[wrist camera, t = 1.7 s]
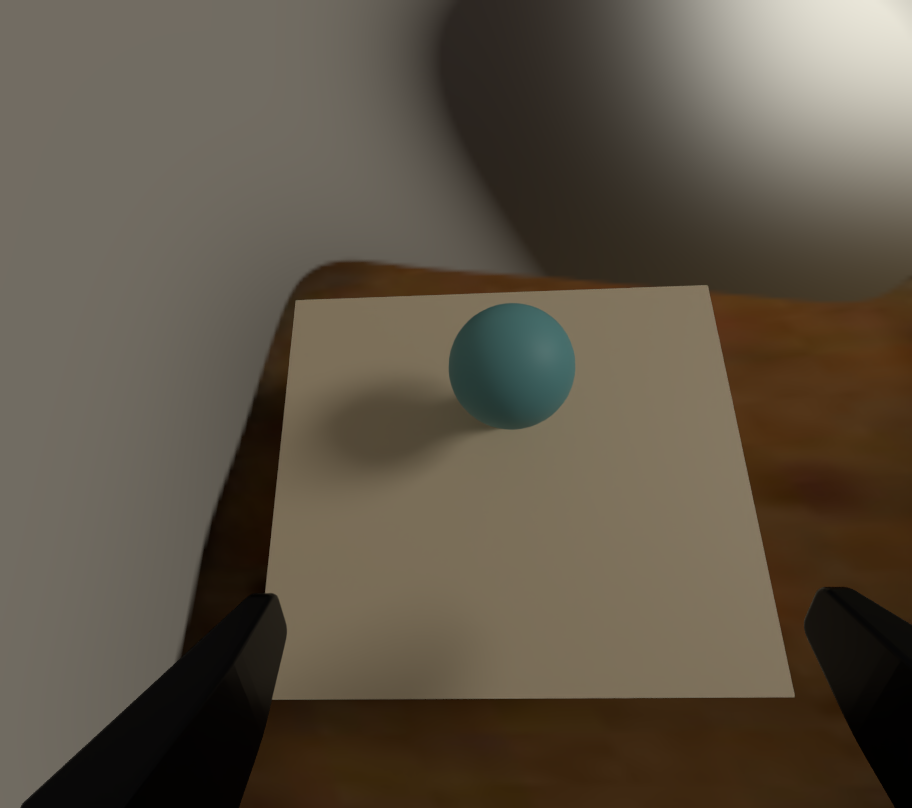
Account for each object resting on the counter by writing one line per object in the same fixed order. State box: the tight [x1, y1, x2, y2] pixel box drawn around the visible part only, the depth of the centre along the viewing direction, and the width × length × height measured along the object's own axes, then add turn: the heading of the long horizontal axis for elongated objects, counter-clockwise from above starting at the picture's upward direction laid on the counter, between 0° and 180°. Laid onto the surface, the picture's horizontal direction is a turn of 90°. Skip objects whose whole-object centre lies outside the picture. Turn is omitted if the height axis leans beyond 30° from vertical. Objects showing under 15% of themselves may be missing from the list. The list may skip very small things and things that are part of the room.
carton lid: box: [265, 285, 795, 700], centre depth 12 cm, size 12×14×6 cm
